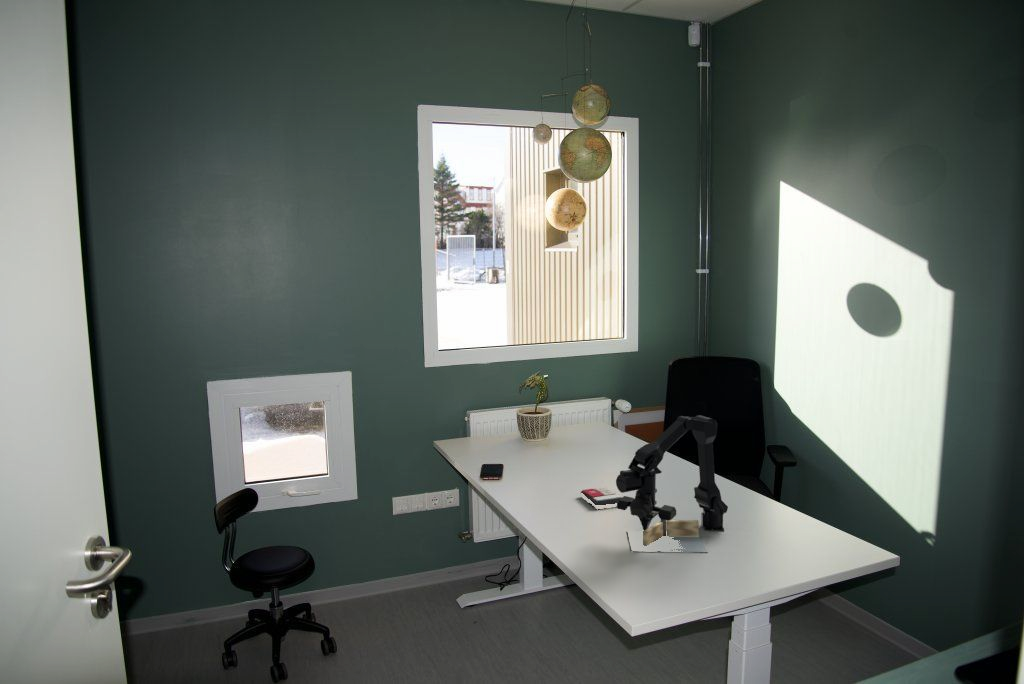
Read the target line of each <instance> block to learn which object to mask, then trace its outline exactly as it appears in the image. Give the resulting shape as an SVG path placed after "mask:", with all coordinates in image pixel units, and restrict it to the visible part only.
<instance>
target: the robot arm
mask: <svg viewBox="0 0 1024 684" xmlns="http://www.w3.org/2000/svg"><path fill="white" fill-rule="evenodd" d="M690 430H691V432H692V435H693V436H694V439H695V440H696V442H697V454H698V455H697V456H698V471H699V483H698V485H697V486H695V487H694V488H693V490H694V496H693V498H694V499H695V501H696V503H697V504H698V506H699V508H700V509H702V512H701V514H700V522H701V527H703V529H704V530H705V531H725V528H724V514H726V513H728V509H729V508H728V507H729V506H728V505H727V504H726V503H725V502H724V501H723V500H722V495H721V491H720V489H719V487H718V485H717V483H716V479H715V461H714V460H715V459H714V445H713V443H714V441H715V439H716V437H717V433H718V423H717V421H716V420H715V419H714V418H712V417H711V418H710V417H706V416H704V415H700V414H699V415H695V416H694V417H693V416H683V415H680V416H678V417H677V418H676V420H675V421H674V422H672V424H671V425H670V426H668V427H667V428H666V429H665V430H664V431H663V432H662V433H661V434H660V435H659V436H658V437H656V439H654V441H652V442H650V443H646V444H644V445H642V446H641V447H640V448H638V449H637V450H636V451H635V453H634V457H633V458H632V460H631V461H630V464H629V465H628V469H627V470H620V471H619V474H618V475H617V477H616V479H615V485H616V488H617V489H618V491H619V492H620V493H621V494H623V493H624V494H625V493H628V492H634V491H636V492H635V496H634V497H631V496H626V495H624V496H621V497H622V498H621V499H620V500H618V501H617V507H616V509H618V510H622V511H626V510H628V507H629V510H630V515H631V516H636V517H638V519H639V521H640V524H641V526H642V529H643V530H644V531H645V530H646V529H648V528H650V524H651V522H652V520H653V519H655V517H656V516H657V517H659V519H660V520H661V519H664V520H666V521H667V520H668V521H669V520H674V518H675V517H676V516H677V508H676V507H675V506H671V505H667V504H664V505H663V506H660V507H659V506H656V505H657V504H658V503H657V500H656V493H658V489H657V488H656V483H657V481H656V480H657V475H659V474H662V470H661V469H659V467H658V466H659V465H660V464H661V462H662V460H663V459H664V456H665V453H666V452H667V451H668V450H669V449H671V447H672V446H673V445H674V444H676V442H678V441H679V439H680V438H681V437H683V436H684V435H685V434H686V433H687V432H688V431H690ZM641 466H642V467H641Z"/></svg>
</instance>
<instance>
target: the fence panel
mask: <svg viewBox="0 0 1024 684" xmlns="http://www.w3.org/2000/svg"><path fill="white" fill-rule="evenodd" d="M662 536H663V522H661V521H658V522H657V523H655V524H653V525H652V526H649V527H648V529H646V530H645V531H643V545H644V546H647V545H649V544H650V543H652V542H654V541H656V540H658V539H659V538H661V537H662Z"/></svg>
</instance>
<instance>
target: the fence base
mask: <svg viewBox="0 0 1024 684" xmlns="http://www.w3.org/2000/svg"><path fill="white" fill-rule="evenodd" d="M660 522H663V536H666V531H667V536H699V535H700V534H699V531H700V529H699V527H700V526H699V523H700V522H699V520H697V519H696V520H695V519H689V520H687V519H684V520H683V519H671V520H669V521H668V520H664V519H660Z"/></svg>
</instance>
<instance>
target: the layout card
mask: <svg viewBox="0 0 1024 684" xmlns="http://www.w3.org/2000/svg"><path fill="white" fill-rule="evenodd" d="M669 537H674V538H672V539H674V540H678V541H679V540H680V541H679V542H680V543H679V542H678V543H679V545H680V544H681V545H680V546H682V547H683V549H676V550H678V551H680V550H681V552H682V551H683V552H703V553H702V554H708V553H707V552H708V550H707V548H706V546H705V543H704V541H703V540H702V538H701V535H700V534H699V536H669ZM669 544H670V543H669ZM680 546H679V547H680ZM682 547H681V548H682ZM684 548H685V549H684ZM670 550H671V549H670ZM674 550H675V549H674ZM671 551H673V550H671ZM705 552H706V553H705Z"/></svg>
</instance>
